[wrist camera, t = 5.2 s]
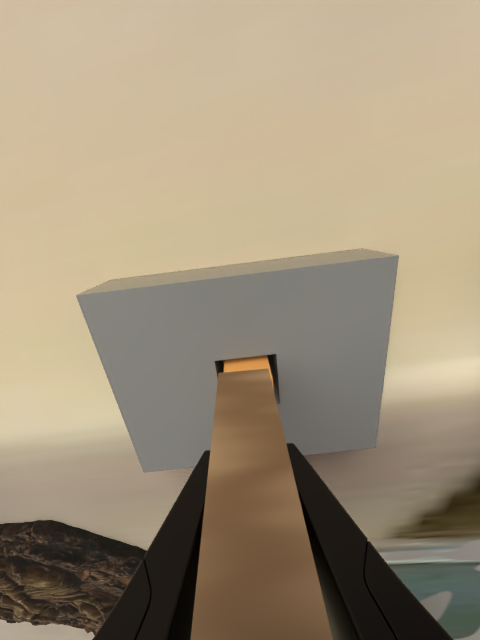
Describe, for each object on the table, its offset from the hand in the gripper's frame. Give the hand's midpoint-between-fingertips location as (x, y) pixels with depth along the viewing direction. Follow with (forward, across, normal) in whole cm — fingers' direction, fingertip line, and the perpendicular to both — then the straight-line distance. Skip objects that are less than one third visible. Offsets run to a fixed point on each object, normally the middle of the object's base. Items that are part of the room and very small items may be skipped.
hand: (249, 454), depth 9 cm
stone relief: (+14, +27, +39) cm, 49 cm away
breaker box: (+13, 0, +3) cm, 13 cm away
